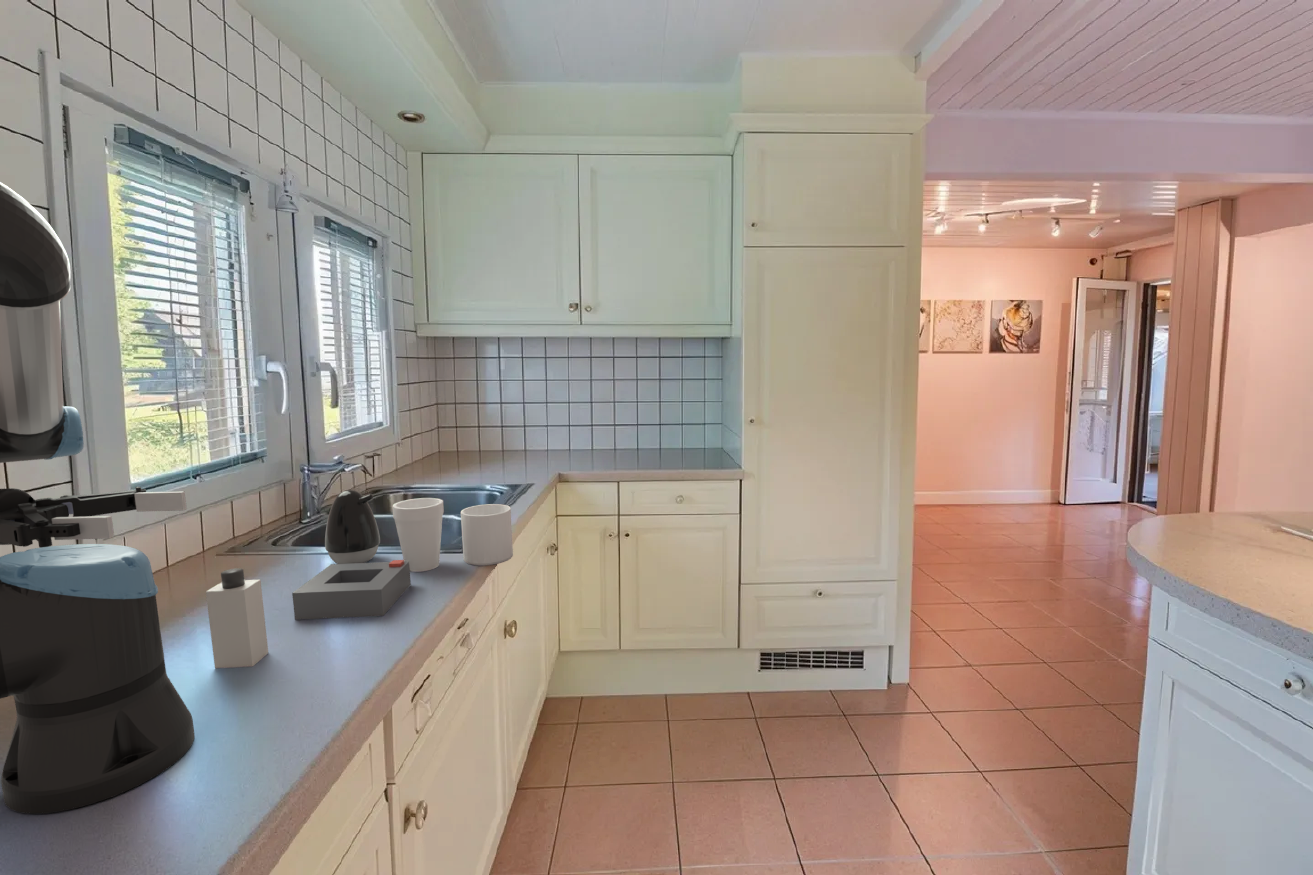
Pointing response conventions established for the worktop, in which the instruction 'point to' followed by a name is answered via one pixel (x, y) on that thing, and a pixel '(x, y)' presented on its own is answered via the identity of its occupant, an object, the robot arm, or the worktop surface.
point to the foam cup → (419, 531)
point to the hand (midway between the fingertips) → (150, 512)
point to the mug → (486, 534)
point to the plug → (237, 621)
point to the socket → (352, 590)
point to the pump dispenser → (351, 529)
